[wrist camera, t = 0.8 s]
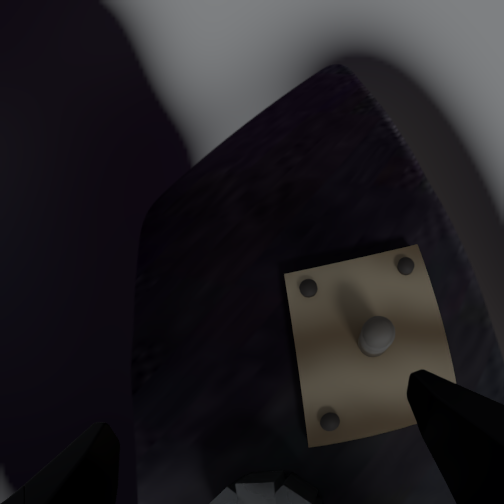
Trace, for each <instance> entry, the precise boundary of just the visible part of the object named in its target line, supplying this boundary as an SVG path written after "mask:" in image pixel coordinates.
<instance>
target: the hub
mask: <svg viewBox="0 0 504 504" xmlns="http://www.w3.org/2000/svg"><path fill="white" fill-rule="evenodd" d="M317 492H318V489H317V488H315V487H313V486H312V485H310V484H309V483H307V482H306V481H304V480H303V479H301V478H300V477H298V476H297V475H296V474H294V473H293V472H292V473H291V474H290V475H289V476H288V477H287V478H286V479H285V475H284V470H279V471H266V472H251V473H250V474H248V475H247V476H245V475H244V476H243V477H241V478H240V479H238V480H237V481H235V482H234V483H232V484H231V485H229V486H227V487H226V488H225V489H224V490H223V491H222V492H221V493H220V494H219V495H218V496H217V497H216V498H215V499H214V500H213V501H212V502H211V503H210V504H323V500H322V496H317Z"/></svg>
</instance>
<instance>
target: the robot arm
mask: <svg viewBox="0 0 504 504" xmlns="http://www.w3.org/2000/svg"><path fill="white" fill-rule="evenodd" d="M407 400H408V402H409V404H410V407H411V409H412V412H413V414H414V417H415V419H416V422H417V424H418V427H419V430H420V432H421V435H422V437H423V439H424V441H425V443H426V445H427V447H428V449H429V451H430V452H431V454H432V456H433V458H434V460H435V462H436V464H437V466H438V468H439V470H440V472H441V473H442V475H443V477H444V479H445V481H446V483H447V485H448V487H449V489H450V491H451V493H452V495H453V497H454V499H455V501H456V503H457V504H504V405H503V404H501V403H498V402H496V401H494V400H491V399H489V398H487V397H485V396H482V395H480V394H478V393H475V392H473V391H471V390H469V389H466V388H464V387H462V386H460V385H457V384H455V383H453V382H451V381H448V380H446V379H444V378H442V377H440V376H437V375H435V374H433V373H431V372H429V371H426V370H424V369H421V370H418V371H415V372H412V373H411V374H410V376H409V381H408V387H407ZM119 452H120V444H119V440H118V438H117V437H116V435H115V434H114V432H113V431H112V429H111V427H110V426H109V425H108V424H107V423H94V424H93V425H92V426H90V427H89V428H88V429H87V430H86V431H85V432H84V433H82V435H80V436H79V437H78V438H77V439H76V440H75V441H74V442H72V443H71V444H70V445H69V446H68V447H67V448H66V449H65V450H63V452H61V453H60V454H59V455H58V456H57V457H56V458H54V459H53V460H52V461H51V462H50V463H49V464H48V465H46V466H45V467H44V468H43V469H42V470H41V471H40V472H38V473H37V474H36V475H35V476H34V477H33V478H32V479H30V480H29V481H28V482H27V483H26V484H25V486H22V487H21V488H20V489H19V490H18V491H16V492H15V493H14V494H13V495H11V496H10V497H9V498H8V499H6V500H5V501H4V502H2V503H1V504H115V502H116V495H117V488H118V471H119Z"/></svg>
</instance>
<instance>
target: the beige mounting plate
mask: <svg viewBox="0 0 504 504" xmlns="http://www.w3.org/2000/svg"><path fill="white" fill-rule="evenodd" d="M284 276H285V283H286V289H287V295H288V302H289V308H290V315H291V321H292V328H293V335H294V341H295V348H296V355H297V362H298V369H299V377H300V384H301V391H302V399H303V406H304V414H305V422H306V430H307V438H308V446H309V447H316V446H323V445H329V444H334V443H340V442H345V441H350V440H355V439H360V438H364V437H369V436H373V435H377V434H381V433H385V432H389V431H393V430H397V429H400V428H404V427H407V426H411V425H414V424H417V422H416V419H415V417H414V414H413V412H412V409H411V407H410V404H409V402H408V400H407V387H408V381H409V376H410V374H411V373H412V372H415V371H418V370H421V369H424V370H426V371H429V372H431V373H433V374H435V375H437V376H440V377H442V378H444V379H446V380H448V381H451V382H453V383H455V384H456V380H455V374H454V369H453V365H452V360H451V355H450V351H449V347H448V342H447V338H446V334H445V330H444V327H443V323H442V319H441V315H440V312H439V308H438V305H437V301H436V298H435V295H434V292H433V288H432V285H431V282H430V279H429V276H428V273H427V270H426V267H425V264H424V261H423V259H422V256H421V253H420V250H419V247H418V245H412V246H408V247H404V248H400V249H395V250H391V251H387V252H383V253H378V254H374V255H369V256H365V257H361V258H356V259H352V260H347V261H343V262H338V263H334V264H329V265H324V266H320V267H315V268H311V269H306V270H301V271H296V272H292V273H287V274H284Z"/></svg>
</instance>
